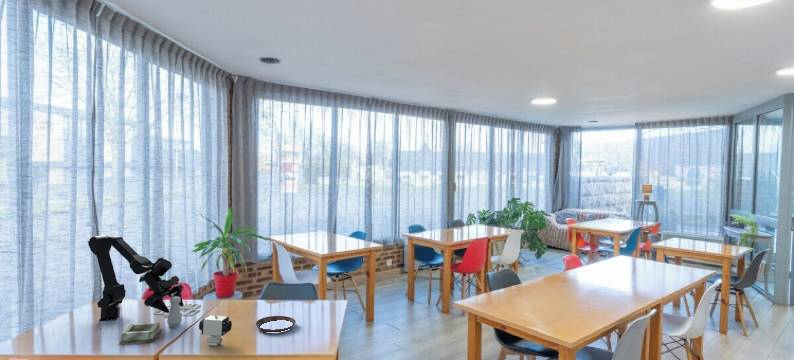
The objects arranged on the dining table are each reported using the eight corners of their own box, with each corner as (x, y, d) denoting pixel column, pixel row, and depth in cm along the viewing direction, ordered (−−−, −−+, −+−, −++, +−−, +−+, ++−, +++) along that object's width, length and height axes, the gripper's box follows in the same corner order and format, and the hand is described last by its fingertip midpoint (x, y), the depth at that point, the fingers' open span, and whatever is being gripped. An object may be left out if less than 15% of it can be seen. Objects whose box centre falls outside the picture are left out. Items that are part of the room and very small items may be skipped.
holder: (119, 344, 161) (119, 334, 161) (129, 333, 173) (129, 323, 173) (153, 341, 165) (153, 332, 165) (160, 331, 176) (161, 322, 177)
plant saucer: (302, 329, 187) (303, 322, 187) (267, 339, 174) (268, 332, 174) (282, 319, 199) (282, 313, 199) (248, 327, 186) (248, 321, 186)
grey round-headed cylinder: (170, 323, 186) (172, 295, 186) (183, 323, 187) (184, 295, 187) (164, 328, 180) (165, 298, 180) (177, 328, 181) (179, 299, 181)
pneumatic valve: (225, 347, 163) (227, 318, 163) (197, 345, 163) (198, 316, 163) (232, 342, 168) (233, 313, 168) (204, 340, 169) (206, 311, 169)
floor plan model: (199, 320, 193) (199, 316, 193) (148, 317, 194) (148, 313, 194) (218, 308, 212) (218, 304, 212) (172, 305, 213) (172, 301, 213)
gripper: (151, 275, 175) (173, 303, 173) (181, 267, 194) (200, 292, 192) (134, 292, 176) (155, 320, 175) (165, 282, 195) (185, 307, 193)
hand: (175, 309), depth 183 cm, fingers open, 9 cm apart
